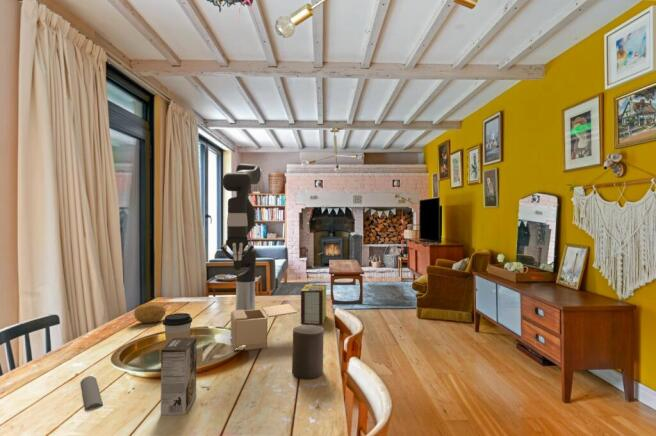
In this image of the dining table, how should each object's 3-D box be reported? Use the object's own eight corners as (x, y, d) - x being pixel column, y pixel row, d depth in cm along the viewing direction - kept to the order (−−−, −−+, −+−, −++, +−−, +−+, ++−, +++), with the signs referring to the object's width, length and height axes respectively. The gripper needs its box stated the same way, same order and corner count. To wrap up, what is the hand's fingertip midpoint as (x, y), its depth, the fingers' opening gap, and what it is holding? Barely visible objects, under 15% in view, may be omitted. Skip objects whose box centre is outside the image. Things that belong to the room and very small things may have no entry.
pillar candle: (299, 382, 105) (300, 331, 106) (287, 369, 114) (288, 322, 114) (328, 376, 110) (329, 327, 110) (314, 364, 119) (315, 319, 119)
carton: (230, 338, 143) (230, 309, 143) (260, 335, 147) (260, 307, 147) (234, 351, 129) (234, 319, 129) (267, 347, 133) (267, 316, 133)
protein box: (326, 315, 179) (326, 284, 179) (322, 324, 163) (323, 290, 163) (305, 315, 180) (305, 284, 180) (300, 323, 164) (300, 290, 164)
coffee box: (172, 397, 96) (173, 337, 96) (197, 396, 97) (197, 336, 97) (159, 415, 87) (159, 349, 87) (186, 414, 87) (187, 348, 88)
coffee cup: (198, 357, 123) (198, 314, 123) (176, 367, 115) (176, 321, 115) (178, 353, 127) (178, 311, 127) (155, 362, 119) (155, 317, 119)
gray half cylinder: (96, 380, 107) (96, 374, 107) (104, 407, 91) (104, 400, 91) (79, 384, 104) (79, 378, 104) (84, 413, 89) (84, 406, 89)
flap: (262, 307, 147) (288, 303, 151) (262, 309, 147) (288, 305, 151) (268, 316, 134) (296, 311, 138) (268, 317, 134) (297, 313, 138)
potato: (168, 302, 165) (162, 297, 172) (136, 308, 157) (131, 302, 164) (168, 322, 166) (163, 316, 173) (137, 329, 158) (132, 322, 165)
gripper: (253, 224, 142) (253, 267, 143) (219, 224, 138) (219, 269, 138) (255, 225, 135) (256, 270, 135) (219, 225, 131) (219, 272, 131)
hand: (237, 270), depth 137 cm, fingers closed
